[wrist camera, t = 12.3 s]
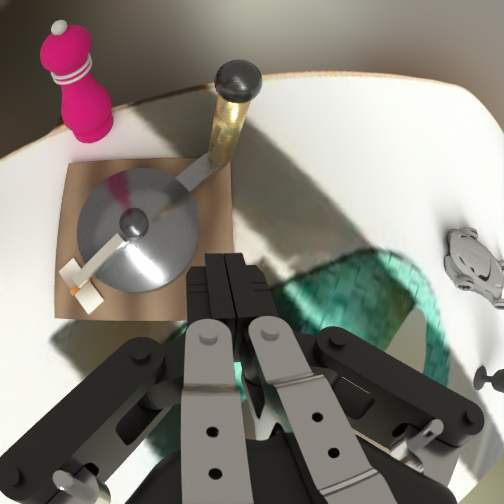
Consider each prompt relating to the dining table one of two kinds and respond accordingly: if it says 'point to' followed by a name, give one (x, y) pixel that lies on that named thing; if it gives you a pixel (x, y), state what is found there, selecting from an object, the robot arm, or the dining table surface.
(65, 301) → the stand
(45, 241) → the dining table surface
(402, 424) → the robot arm
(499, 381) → the sundae
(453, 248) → the car model
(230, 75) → the turntable
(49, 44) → the pepper mill
